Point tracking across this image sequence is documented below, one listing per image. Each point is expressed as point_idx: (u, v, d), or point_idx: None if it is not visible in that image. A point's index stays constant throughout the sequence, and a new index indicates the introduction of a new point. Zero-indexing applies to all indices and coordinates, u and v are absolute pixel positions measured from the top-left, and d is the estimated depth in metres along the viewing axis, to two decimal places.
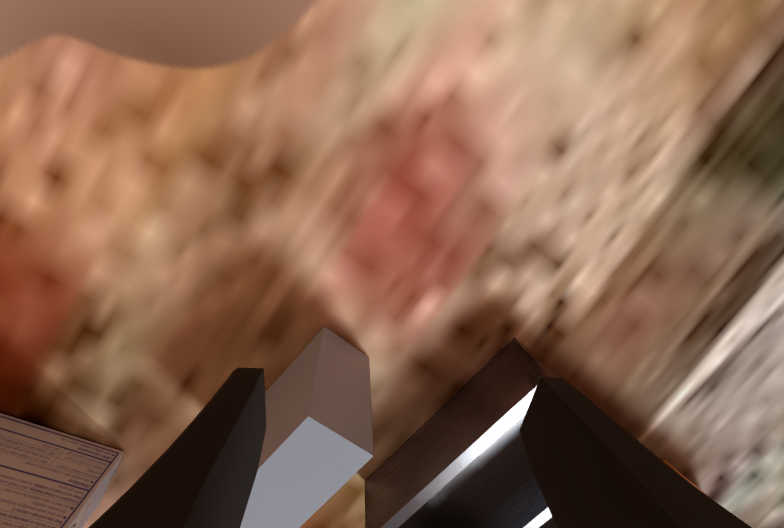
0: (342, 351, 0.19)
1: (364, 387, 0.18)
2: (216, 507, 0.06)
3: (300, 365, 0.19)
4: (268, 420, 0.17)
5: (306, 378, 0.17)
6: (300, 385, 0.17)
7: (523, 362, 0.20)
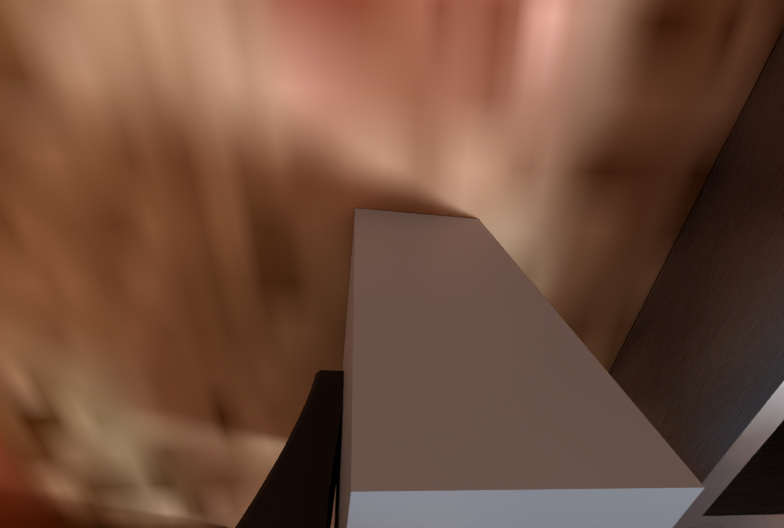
0: (414, 232, 0.08)
1: (507, 276, 0.07)
2: (329, 505, 0.07)
3: None
4: (340, 449, 0.07)
5: (350, 330, 0.06)
6: (348, 352, 0.06)
7: None
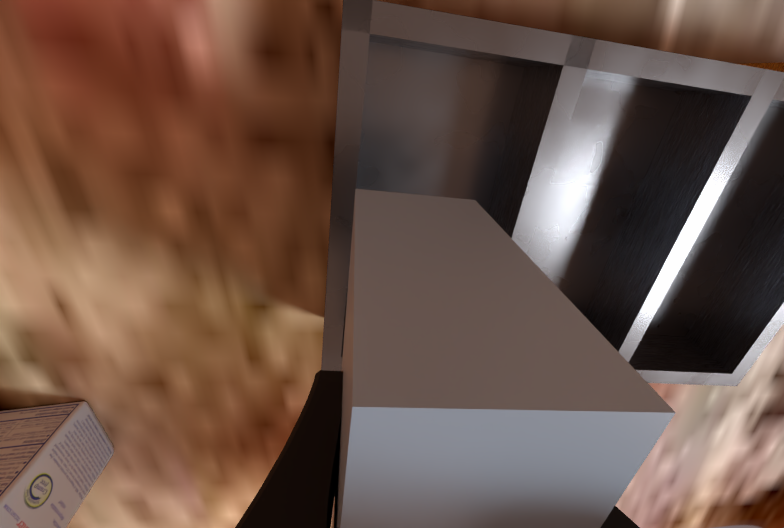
0: (412, 209, 0.08)
1: (500, 246, 0.07)
2: (329, 505, 0.07)
3: (349, 281, 0.09)
4: (341, 415, 0.08)
5: (350, 295, 0.06)
6: (349, 316, 0.07)
7: None
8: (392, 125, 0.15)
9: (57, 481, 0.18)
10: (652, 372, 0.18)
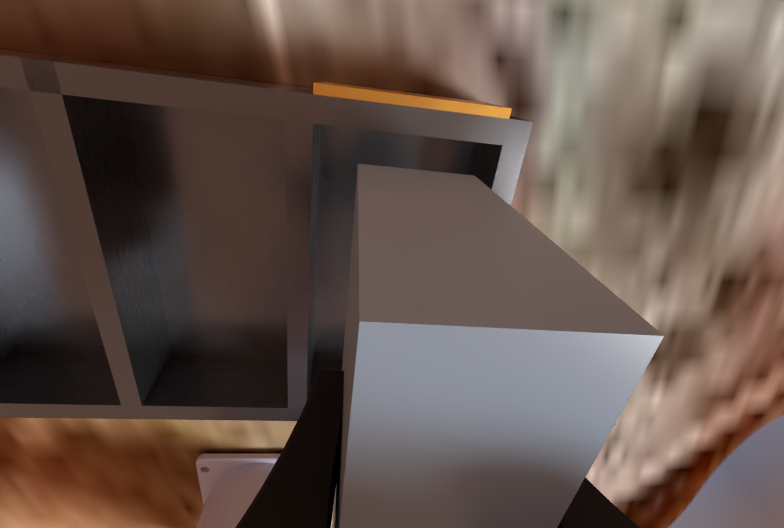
0: (414, 180, 0.09)
1: (500, 211, 0.07)
2: (329, 505, 0.07)
3: (352, 251, 0.09)
4: (344, 377, 0.08)
5: (354, 255, 0.07)
6: (352, 276, 0.07)
7: None
8: None
9: None
10: None
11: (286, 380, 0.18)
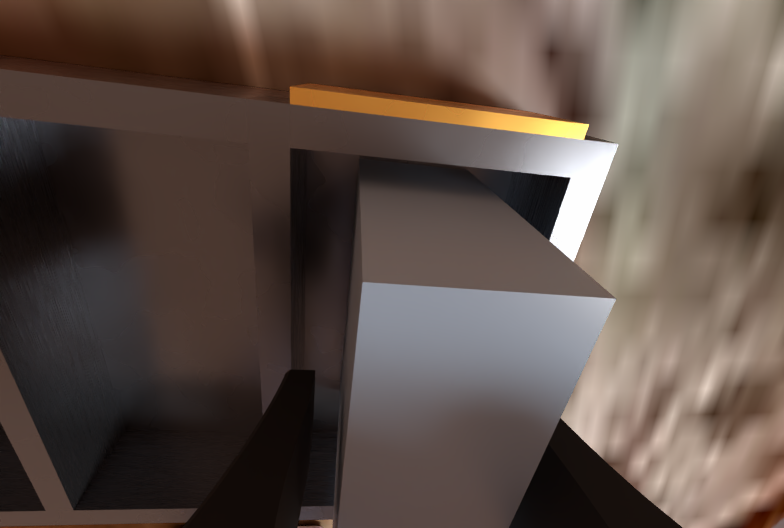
0: (411, 174, 0.09)
1: (488, 200, 0.08)
2: (288, 506, 0.06)
3: None
4: (346, 352, 0.09)
5: (356, 238, 0.07)
6: (355, 258, 0.07)
7: None
8: None
9: None
10: None
11: None
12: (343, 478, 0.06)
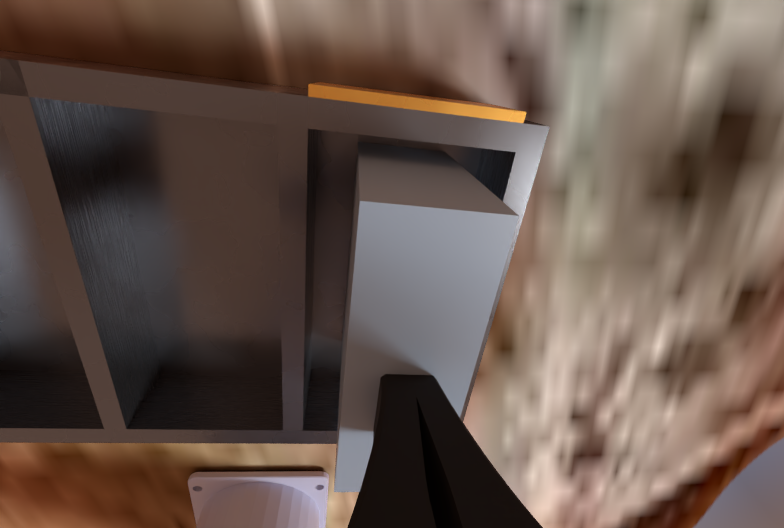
0: (398, 152, 0.12)
1: (454, 169, 0.11)
2: None
3: None
4: None
5: (356, 195, 0.10)
6: (355, 209, 0.10)
7: None
8: None
9: None
10: None
11: (282, 398, 0.17)
12: (347, 349, 0.09)
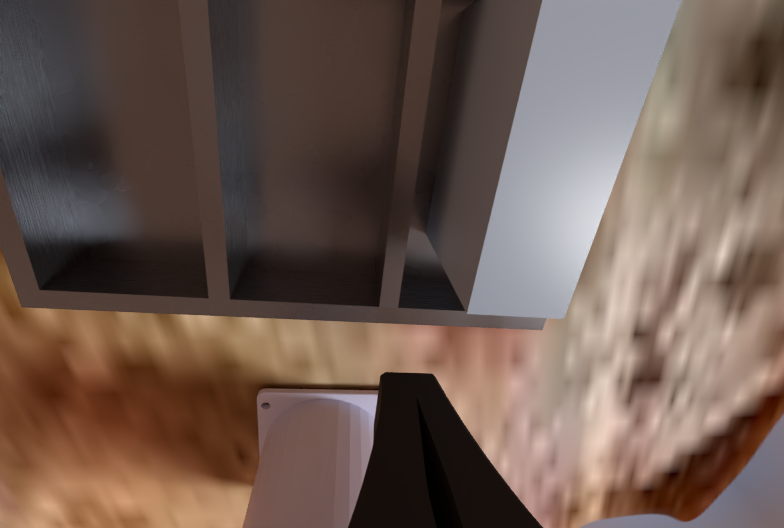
0: None
1: None
2: None
3: (466, 58, 0.13)
4: (473, 121, 0.12)
5: (493, 16, 0.11)
6: (491, 32, 0.11)
7: None
8: (71, 16, 0.13)
9: None
10: (434, 311, 0.16)
11: (370, 287, 0.17)
12: (513, 125, 0.09)
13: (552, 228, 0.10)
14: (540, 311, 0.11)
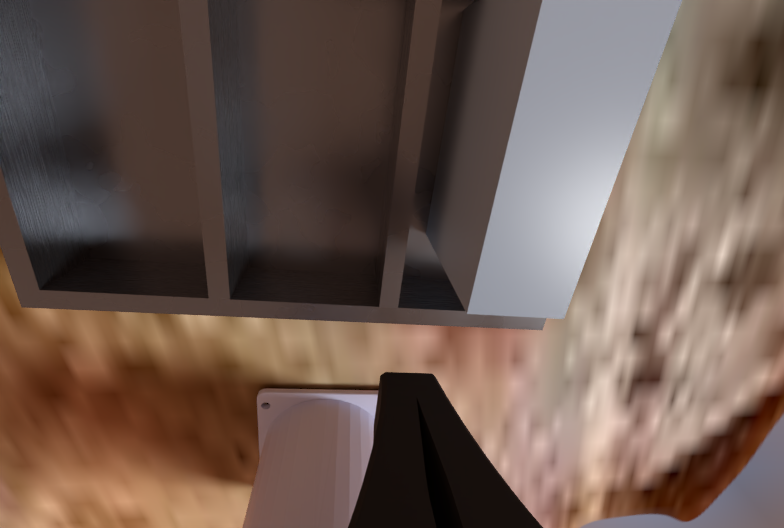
0: None
1: None
2: None
3: (466, 58, 0.13)
4: (473, 121, 0.12)
5: (493, 16, 0.11)
6: (491, 32, 0.11)
7: None
8: (71, 16, 0.13)
9: None
10: (434, 311, 0.16)
11: (370, 287, 0.17)
12: (513, 125, 0.09)
13: (552, 228, 0.10)
14: (540, 311, 0.11)
